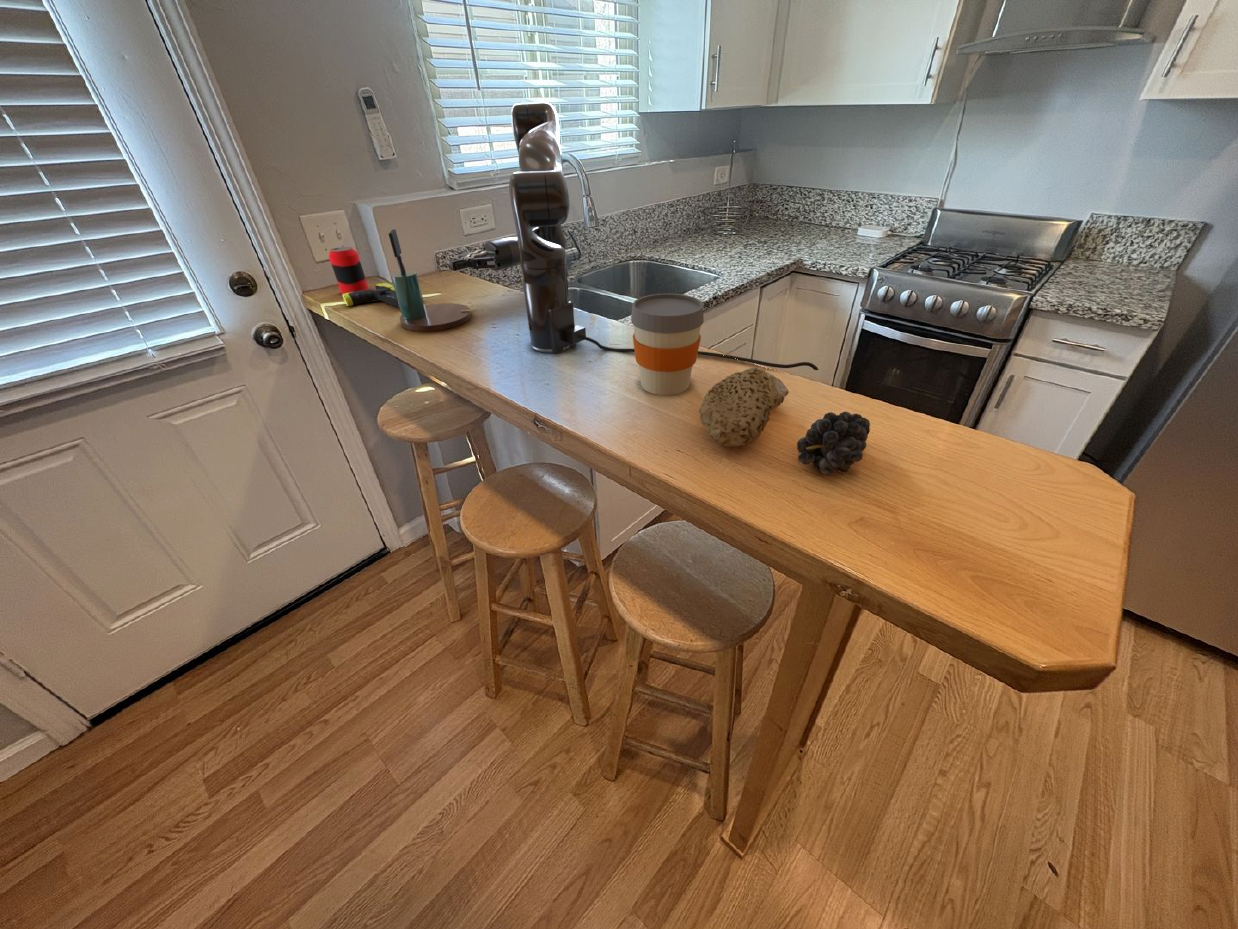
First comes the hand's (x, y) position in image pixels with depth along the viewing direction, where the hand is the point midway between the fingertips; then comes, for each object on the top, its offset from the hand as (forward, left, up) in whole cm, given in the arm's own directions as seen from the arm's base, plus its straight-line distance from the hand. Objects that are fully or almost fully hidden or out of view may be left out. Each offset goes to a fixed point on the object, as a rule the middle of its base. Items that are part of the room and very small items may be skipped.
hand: (451, 266), depth 125 cm
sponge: (-88, +7, -11) cm, 89 cm away
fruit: (-104, +7, -11) cm, 105 cm away
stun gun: (+21, +11, -11) cm, 26 cm away
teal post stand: (-4, +10, -11) cm, 15 cm away
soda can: (+38, +11, -11) cm, 41 cm away
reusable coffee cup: (-70, +3, -11) cm, 71 cm away
